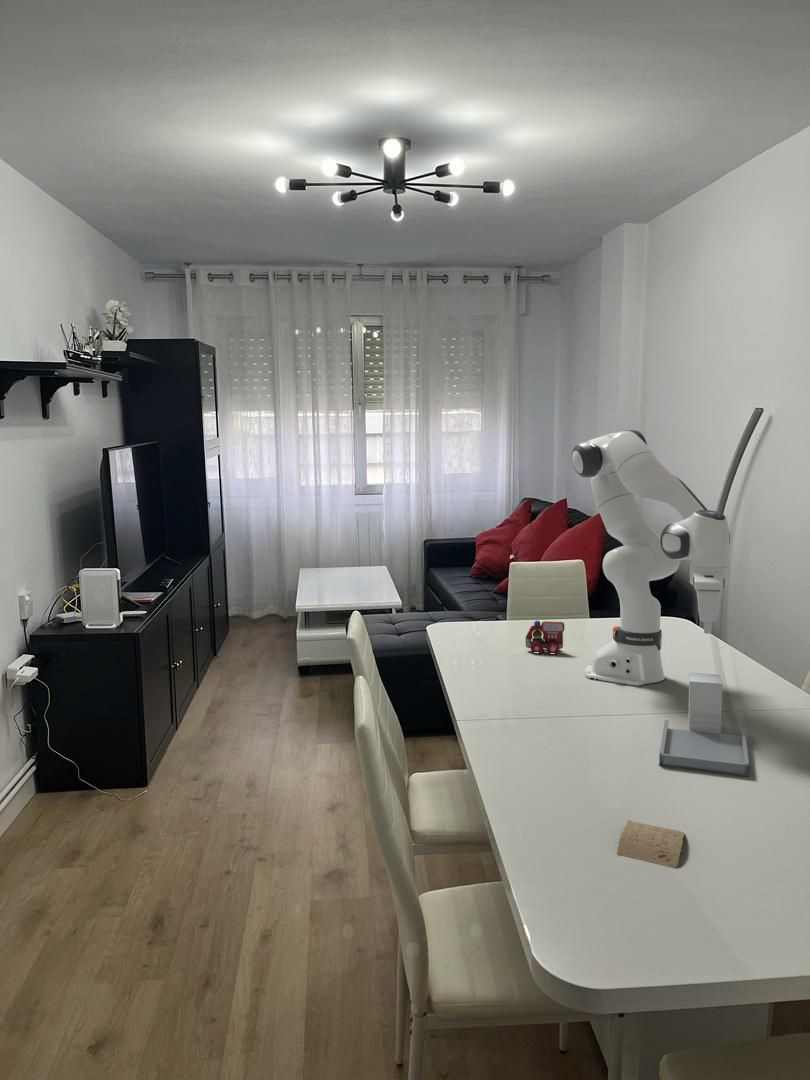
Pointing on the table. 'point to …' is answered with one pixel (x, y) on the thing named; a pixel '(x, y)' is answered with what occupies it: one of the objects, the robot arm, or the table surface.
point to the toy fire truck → (545, 637)
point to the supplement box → (705, 703)
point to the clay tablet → (651, 844)
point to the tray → (704, 751)
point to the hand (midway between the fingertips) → (707, 632)
